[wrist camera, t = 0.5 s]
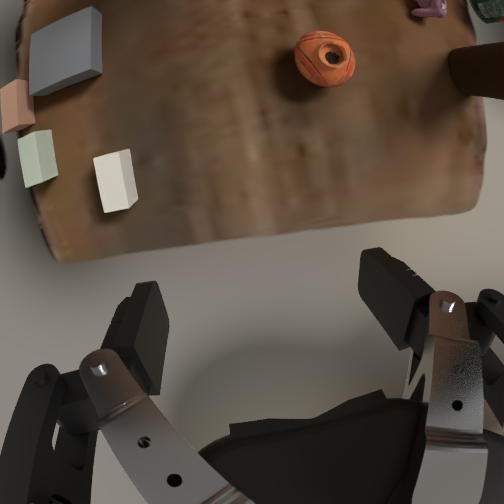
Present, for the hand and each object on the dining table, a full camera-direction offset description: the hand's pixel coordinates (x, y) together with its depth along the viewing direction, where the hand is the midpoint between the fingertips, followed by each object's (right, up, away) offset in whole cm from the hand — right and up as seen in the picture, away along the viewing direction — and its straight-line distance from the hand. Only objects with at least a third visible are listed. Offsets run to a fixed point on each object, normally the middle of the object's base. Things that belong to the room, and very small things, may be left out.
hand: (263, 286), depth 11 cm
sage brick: (-30, +15, +19) cm, 39 cm away
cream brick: (-18, +11, +23) cm, 31 cm away
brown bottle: (+38, +34, +20) cm, 55 cm away
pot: (+8, +26, +20) cm, 34 cm away
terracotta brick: (-34, +23, +15) cm, 44 cm away
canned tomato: (+48, +54, +12) cm, 73 cm away
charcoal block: (-25, +28, +14) cm, 41 cm away
